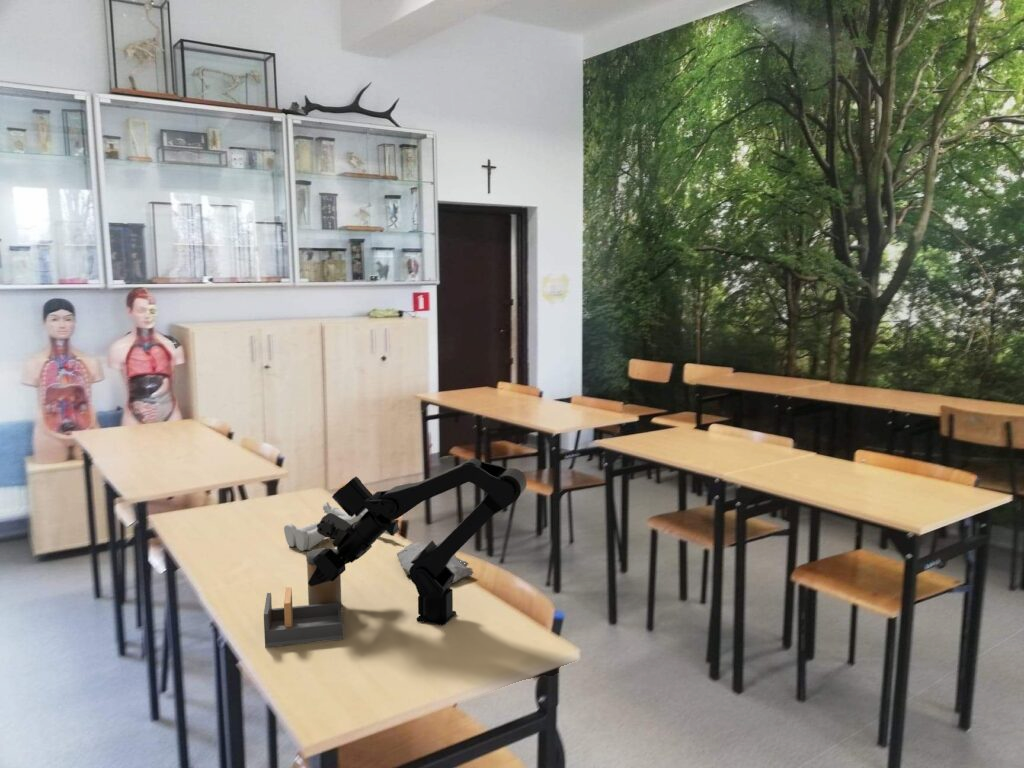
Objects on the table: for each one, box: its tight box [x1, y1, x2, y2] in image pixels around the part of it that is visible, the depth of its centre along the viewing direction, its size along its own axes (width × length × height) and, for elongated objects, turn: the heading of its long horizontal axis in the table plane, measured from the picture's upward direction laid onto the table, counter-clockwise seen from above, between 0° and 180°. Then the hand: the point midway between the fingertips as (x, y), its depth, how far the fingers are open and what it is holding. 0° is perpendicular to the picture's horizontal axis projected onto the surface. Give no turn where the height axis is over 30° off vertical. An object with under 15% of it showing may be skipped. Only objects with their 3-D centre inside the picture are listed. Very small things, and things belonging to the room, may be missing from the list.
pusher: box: [283, 586, 293, 628], centre depth 159 cm, size 1×8×7 cm, turn 14°
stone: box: [396, 541, 474, 584], centre depth 194 cm, size 16×6×25 cm
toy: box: [283, 501, 397, 552], centre depth 219 cm, size 33×8×30 cm
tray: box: [263, 592, 344, 648], centre depth 160 cm, size 15×11×7 cm
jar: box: [305, 547, 342, 605], centre depth 171 cm, size 7×7×12 cm
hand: (319, 576), depth 171 cm, fingers open, 9 cm apart
